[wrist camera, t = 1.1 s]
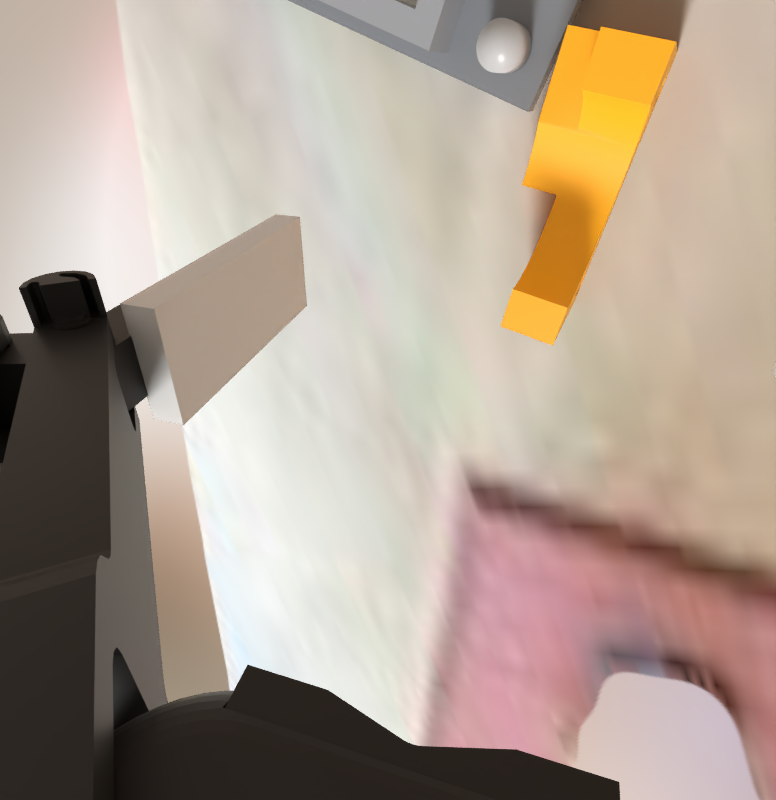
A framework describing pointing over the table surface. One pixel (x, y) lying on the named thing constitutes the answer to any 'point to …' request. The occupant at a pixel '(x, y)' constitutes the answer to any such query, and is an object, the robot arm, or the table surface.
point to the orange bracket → (584, 162)
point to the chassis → (466, 37)
